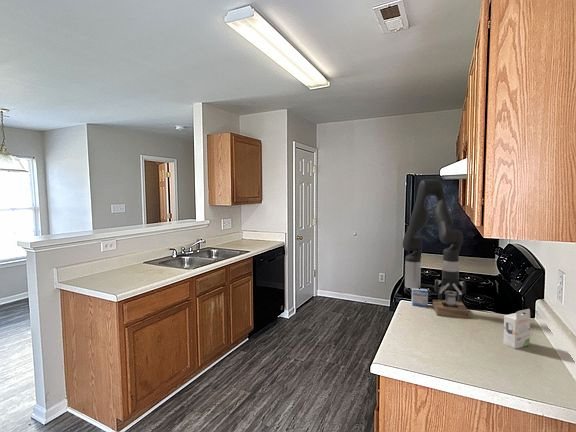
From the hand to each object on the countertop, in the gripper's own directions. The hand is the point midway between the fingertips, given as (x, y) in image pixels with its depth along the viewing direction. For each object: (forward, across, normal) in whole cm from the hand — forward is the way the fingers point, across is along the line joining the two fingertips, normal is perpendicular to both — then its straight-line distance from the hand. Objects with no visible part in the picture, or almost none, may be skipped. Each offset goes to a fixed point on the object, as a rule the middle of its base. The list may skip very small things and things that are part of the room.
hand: (449, 300), depth 162 cm
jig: (+6, 0, 0) cm, 6 cm away
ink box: (+6, -18, +32) cm, 37 cm away
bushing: (+6, 0, 0) cm, 6 cm away
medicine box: (+6, +13, -7) cm, 16 cm away
